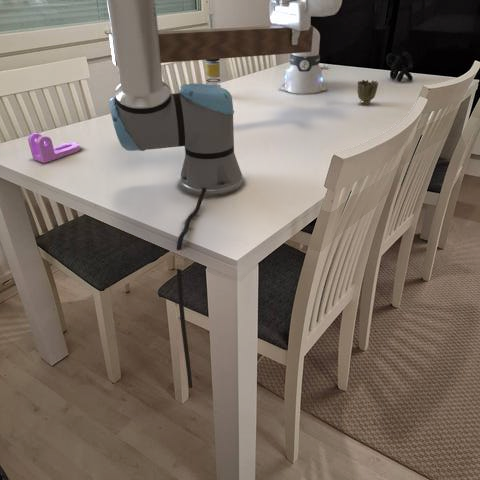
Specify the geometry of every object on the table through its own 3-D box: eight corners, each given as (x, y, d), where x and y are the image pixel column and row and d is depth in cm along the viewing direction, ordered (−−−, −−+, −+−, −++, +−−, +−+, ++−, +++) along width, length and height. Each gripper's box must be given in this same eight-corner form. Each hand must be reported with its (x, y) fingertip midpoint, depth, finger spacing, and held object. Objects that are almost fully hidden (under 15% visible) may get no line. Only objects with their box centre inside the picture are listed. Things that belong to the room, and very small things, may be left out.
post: (116, 66, 122) (111, 36, 118) (112, 62, 126) (108, 33, 122) (311, 52, 142) (313, 26, 138) (302, 49, 147) (304, 24, 143)
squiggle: (400, 92, 202) (376, 71, 205) (417, 76, 202) (392, 56, 205) (405, 81, 191) (380, 59, 194) (423, 64, 191) (397, 42, 194)
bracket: (44, 163, 123) (37, 138, 119) (33, 158, 126) (26, 134, 122) (83, 149, 132) (78, 126, 128) (72, 145, 135) (67, 122, 131)
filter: (222, 96, 181) (219, 14, 165) (209, 97, 179) (205, 14, 164) (218, 93, 186) (215, 12, 170) (205, 94, 184) (200, 13, 168)
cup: (352, 105, 167) (355, 83, 163) (357, 100, 172) (360, 79, 168) (372, 107, 164) (375, 85, 160) (377, 102, 169) (380, 80, 165)
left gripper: (148, -36, 108) (158, 65, 120) (134, -36, 122) (145, 54, 135) (116, -35, 105) (130, 68, 118) (106, -36, 120) (120, 56, 132)
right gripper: (317, -6, 126) (314, 47, 134) (284, -10, 142) (282, 37, 150) (298, -5, 124) (295, 49, 132) (266, -9, 140) (265, 39, 148)
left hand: (138, 60), depth 126 cm, fingers closed on post, 5 cm apart
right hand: (288, 42), depth 141 cm, fingers closed on post, 5 cm apart
